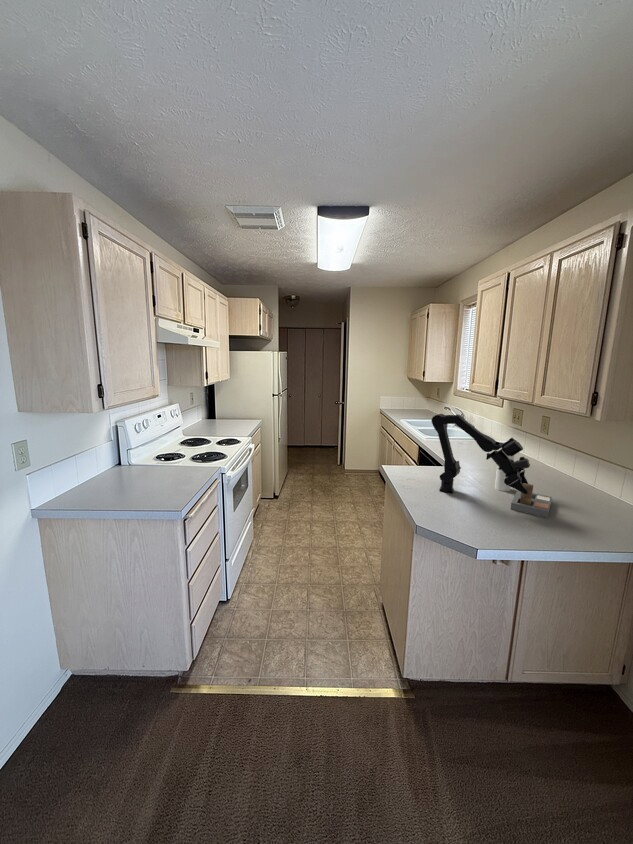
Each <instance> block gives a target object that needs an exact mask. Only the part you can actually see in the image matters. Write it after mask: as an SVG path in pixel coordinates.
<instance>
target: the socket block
mask: <svg viewBox="0 0 633 844" xmlns="http://www.w3.org/2000/svg"><path fill="white" fill-rule="evenodd" d="M520 498H521V492H520V491H518V490H516V492H515V495H514V496H513V499H512V500H511V503H510V510H512V511H516V512H521V513H525V514H529V515H534V516H538V517H542V518H546V519H548V518H549V513H550V509H551V504H552V499H553V497H552V496H548V495H544V494H539V493H534V492H533V493H532V500H531V506H530V505H526V504H521V503H520Z"/></svg>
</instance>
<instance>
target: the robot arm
mask: <svg viewBox="0 0 633 844" xmlns="http://www.w3.org/2000/svg"><path fill="white" fill-rule="evenodd" d="M431 424H432V426H433V428H434V430H435V431H436V433H437V436H438V439H439V443H440V447H441V451H442V455H443V458H444V463H443V464H444V466H443V468H444V470H443V471H444V472H442V473H441V474H440V475H439V479H440V481H441V483H440V487H439V492H442V493H448V492H449V493H450V494H454V490H455V488H454V478H456V477H457V476H458V475H459V474H460V473H461V470H462V467H461V466H460V461H459V460H456V459H455V456H454V452H453V450H452V445H451V442H450V438H449V435H448V424H449V425H450V424H455V425H456V426H457V427H459V428H460V429H461V430H462V431H464V432H465V433H466V434H467V435H468V436H470V437H471V438H472V439H473V440H474V441H475V443H476V445H477V446H478V447H479V448H480V449H481V451H483V452H485V453H486V457H485V459H486V461H487V460H489V459H491V460H492V461H494V462H493V463H495V464H496V466H497V465H498V466H499V470H502V471H503V472H504V473H505V477H506V478H505V479H504V483H505V484H506V485H507V486H510V488H513V489H514V490H516V491H517V490H518V491H520V492H522V493H524V494H527V493H528V492H527V491H526V489H525V487H524V486H523V483H526V484H529V482H528V479H527V478H526V473H525V472H526V470H525V469H529V468H530V466H531V464H530V462H529V461H530V460H529V459H528V458H525V456H520V457H519V459H518V460H516V461H515V460H514V461H513V460H510V459H509V458H508V457H507V456H514V457H515V455H516V454H519V453H520V452H522V451H524V447H523V446H522V444H521V443H520V442H519V441H518V440H516V439H515V438H514V437H510V438H509V439H508V441H507V442H505V443H500V441H496V440H495V438H493V437H490V436H489V435H487V434H485V433H482V432H481V431H480V430H478V429H477V428H476V426H473V425H472V424H471V423H469V421H468V420H466V418H465V419H464V418H463V416H462V415H460V414H448V415H447V414H446V415H445V413H438V414H436V415H434V416H432V418H431ZM500 448H502V449H500ZM499 449H500V450H499ZM502 450H503V451H504V452H503V451H502ZM506 455H507V456H506Z"/></svg>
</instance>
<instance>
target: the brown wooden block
mask: <svg viewBox="0 0 633 844" xmlns="http://www.w3.org/2000/svg"><path fill="white" fill-rule="evenodd" d="M523 486H524V487H525V489H526V491H527V492H528V493H527V494H524V493H522V492H521V498H520V503H521V504H526V505H530V506H531V500H532V493H534V492H533V491H534V484H531V483H528V484H526V483H523Z"/></svg>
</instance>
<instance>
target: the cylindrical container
mask: <svg viewBox="0 0 633 844" xmlns="http://www.w3.org/2000/svg"><path fill="white" fill-rule="evenodd" d="M508 440H509V439H508ZM508 440H501V439H500V440H499V442H500V443H505V442H507V441H508ZM500 449H502V448H500ZM500 449H499V450H500ZM499 450H498V451H499ZM502 451H503V450H502ZM503 452H504V451H503ZM506 456H507V455H506ZM507 457H508V458H509V459H510V460H513V461H514V462H515V455H514V456H507ZM505 478H506V477H505V473H504V472H503V471H502V470H499V466H498V465H497V464H496V473H495V481H494V489H495V490H496V491H502V492H510V491H511V487H510V486H507V485H506V484H505V483H504V479H505Z"/></svg>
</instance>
